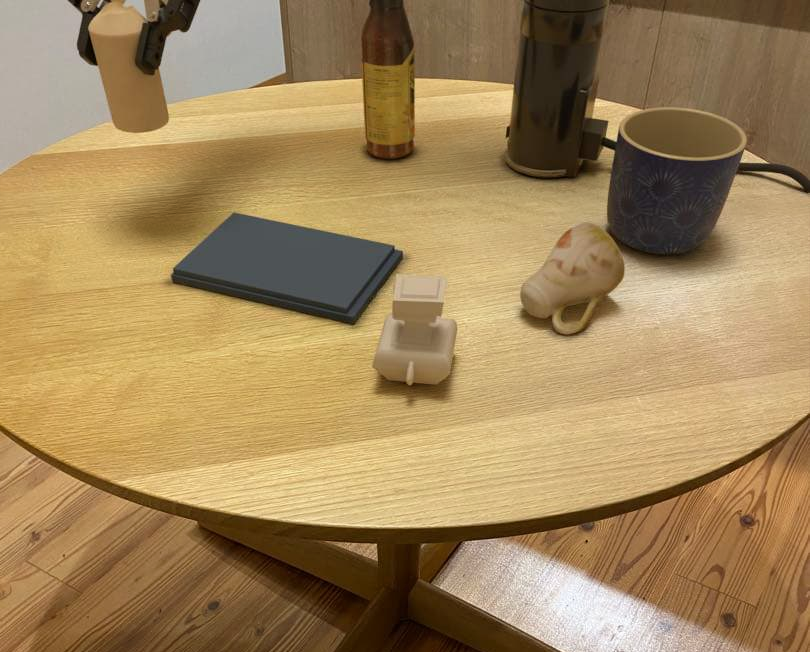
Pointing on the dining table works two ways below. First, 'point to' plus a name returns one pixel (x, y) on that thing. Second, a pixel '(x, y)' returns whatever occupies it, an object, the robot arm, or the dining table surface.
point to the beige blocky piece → (416, 332)
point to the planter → (671, 177)
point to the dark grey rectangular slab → (289, 266)
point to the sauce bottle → (388, 80)
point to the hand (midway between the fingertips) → (116, 65)
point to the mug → (574, 276)
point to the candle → (126, 71)
